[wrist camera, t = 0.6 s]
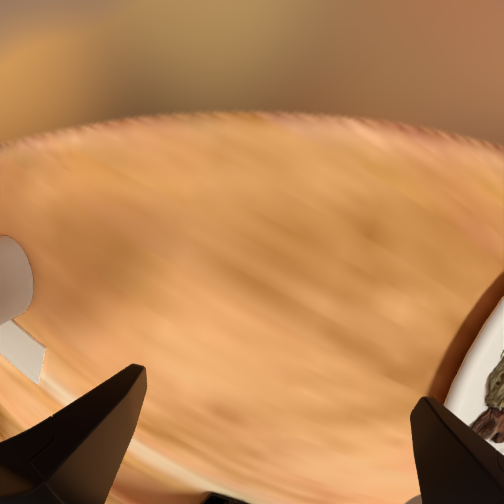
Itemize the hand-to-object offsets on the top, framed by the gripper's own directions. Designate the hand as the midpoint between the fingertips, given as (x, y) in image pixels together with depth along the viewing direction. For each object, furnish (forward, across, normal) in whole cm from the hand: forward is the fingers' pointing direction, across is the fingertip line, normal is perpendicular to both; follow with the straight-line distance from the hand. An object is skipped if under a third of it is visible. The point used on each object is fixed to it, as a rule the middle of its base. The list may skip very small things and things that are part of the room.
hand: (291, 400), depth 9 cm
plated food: (+13, -33, +10) cm, 37 cm away
